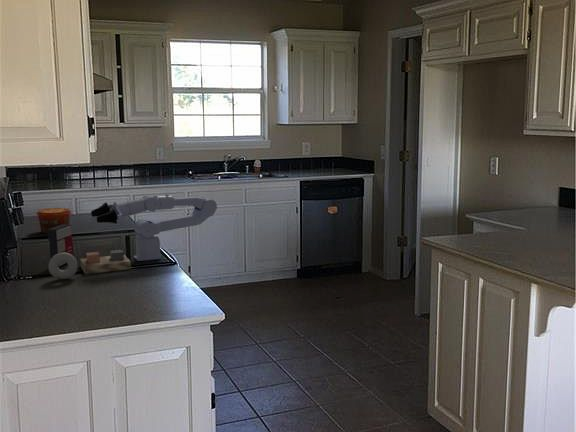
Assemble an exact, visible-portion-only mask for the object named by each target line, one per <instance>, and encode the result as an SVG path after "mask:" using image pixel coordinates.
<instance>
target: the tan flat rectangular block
mask: <svg viewBox="0 0 576 432" xmlns="http://www.w3.org/2000/svg"><path fill="white" fill-rule="evenodd" d="M79 259H80V268H81V269H82V271H83V273H84V275H88V274H97V273H107V272H117V271H124V270H125V271H126V270H131V269H132V265H131V264H132V263H131V260H130V259H129V258H128V257H127V256H126V254H124V260H118V261H111V260H110V255H108V256H107V255H106V256H100V262H98V263H88V264H87V261H86V258H79Z"/></svg>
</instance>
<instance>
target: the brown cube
mask: <svg viewBox="0 0 576 432" xmlns="http://www.w3.org/2000/svg"><path fill="white" fill-rule="evenodd" d="M85 257H86V261H87V264H88V263H98V262H100V257H101V254H100V253H99V252H98V251H94V252H87V253H85Z"/></svg>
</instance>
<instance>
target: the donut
mask: <svg viewBox="0 0 576 432" xmlns="http://www.w3.org/2000/svg"><path fill="white" fill-rule="evenodd" d="M60 262H66V264H67V268H66V269H60V267H58V265H59V263H60ZM47 266H48V267H47V268H48V272H49V273H50V274H51V276H52V277H54V278H56V279H57V280H68V279H70V278H72V277H73V276H74V275H75V274H76V272H77V271H78V268H79V267H78V266H79V265H78V260H77V259H76V257H75V256H74V254H73V255H71V254H69V253H63V252H62V253H58V254H56V255H54V256H53V257H52V258H50V260H49V262H48V265H47Z"/></svg>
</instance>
